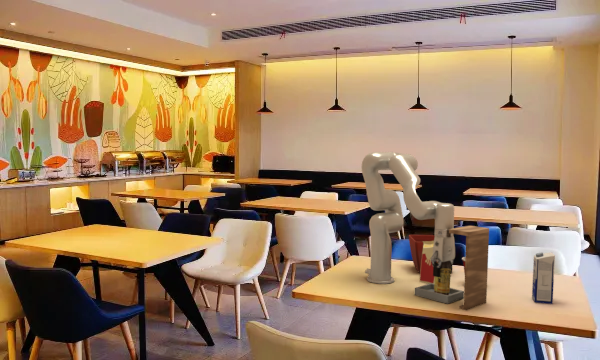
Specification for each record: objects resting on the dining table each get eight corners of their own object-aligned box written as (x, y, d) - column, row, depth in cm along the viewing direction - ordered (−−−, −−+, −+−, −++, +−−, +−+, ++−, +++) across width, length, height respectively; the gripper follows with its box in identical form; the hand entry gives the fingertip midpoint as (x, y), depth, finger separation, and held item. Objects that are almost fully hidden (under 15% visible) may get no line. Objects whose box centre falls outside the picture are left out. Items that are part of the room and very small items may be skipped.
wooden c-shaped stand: (446, 305, 206) (449, 229, 204) (467, 298, 216) (469, 225, 214) (466, 310, 200) (469, 232, 198) (486, 302, 210) (489, 228, 208)
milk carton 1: (444, 281, 242) (445, 239, 241) (434, 285, 236) (436, 241, 234) (426, 278, 249) (428, 236, 247) (416, 281, 242) (418, 239, 241)
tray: (414, 294, 220) (414, 287, 219) (430, 289, 228) (431, 283, 227) (447, 303, 208) (447, 296, 207) (463, 298, 216) (463, 291, 215)
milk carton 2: (552, 304, 210) (555, 255, 208) (534, 302, 211) (536, 254, 210) (549, 299, 216) (551, 251, 215) (531, 297, 218) (533, 250, 217)
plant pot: (453, 276, 253) (455, 242, 252) (414, 275, 253) (415, 241, 252) (444, 267, 272) (445, 235, 271) (407, 266, 272) (408, 234, 271)
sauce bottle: (436, 297, 213) (438, 249, 212) (431, 293, 220) (433, 246, 218) (452, 297, 214) (454, 249, 213) (446, 292, 220) (448, 246, 219)
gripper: (439, 236, 206) (438, 280, 207) (463, 232, 218) (461, 273, 219) (424, 234, 212) (422, 276, 213) (447, 229, 223) (446, 270, 224)
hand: (442, 274), depth 216 cm, fingers open, 8 cm apart
